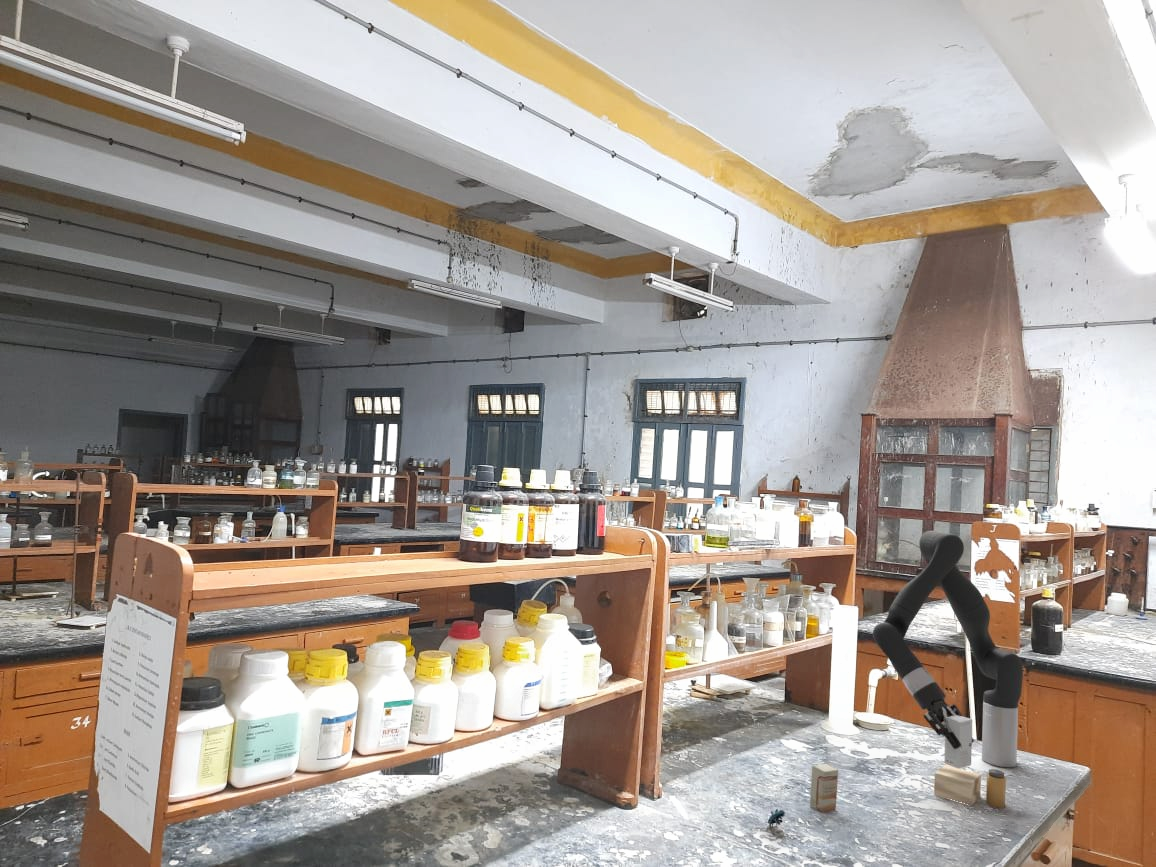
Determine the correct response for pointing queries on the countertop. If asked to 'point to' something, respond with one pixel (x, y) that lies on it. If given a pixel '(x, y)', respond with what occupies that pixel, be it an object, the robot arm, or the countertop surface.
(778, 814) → the sculpture
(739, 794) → the countertop surface
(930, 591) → the robot arm
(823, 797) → the skincare box
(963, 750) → the skincare box
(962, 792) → the beech block
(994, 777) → the amber jar
